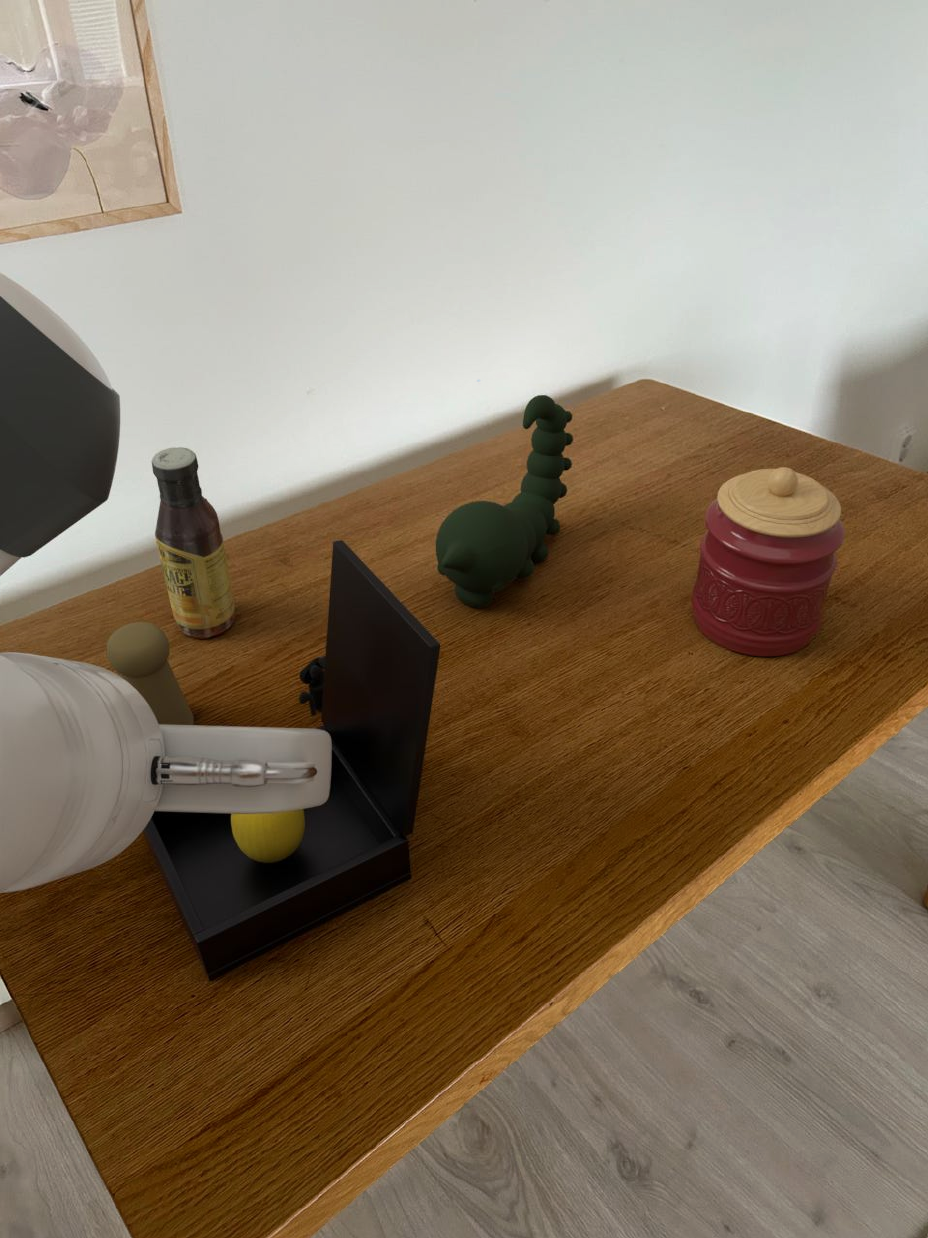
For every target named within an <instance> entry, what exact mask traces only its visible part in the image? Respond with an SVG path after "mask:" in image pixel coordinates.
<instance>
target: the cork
mask: <svg viewBox="0 0 928 1238" xmlns="http://www.w3.org/2000/svg"><path fill="white" fill-rule="evenodd" d="M170 652H171V651H170V641H169V637H168V636H167V635H166V633H165V632H164V630H163V629H162V628H161V627H159V626H158V625H156V624H154V623H152V622H148V621H136V622H130V623H127V624H125V625H121V627H119V628H117V629H116V630H115V631H114V632H113V633H111V634H110V637H109V639H108V641H107V643H106V657H107V658H106V659H107V660H108V662H109V664H110V666H111V667H112V669H113V670H114V671H115V672H116V673H118V676H120V677H121V678H123V679H124V680H126V681H127V682H128V683H129V684H131V685H132V686H133V687H134V688H135V689H136V690H137V691H138V692H139V693H140V694H141V696H142V697H143V698H144V699H145V701H146V702H147V703H148V705H149V706H150V708H151V710H152V712H153V713H154V715H155V717H156V720H157V722H158V724H167V725H195V721H194V713H193V712H192V710H191V708H190V705H189V704H188V701H187V699H186V696H185V695H184V692H183V691H182V688H181V686H180V684H179V682H178V680H177V678H176V675H175V673H174V671H173V669H172V667H171V665H170V663H169V661H168V659H169V656H170Z"/></svg>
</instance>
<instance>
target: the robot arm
mask: <svg viewBox="0 0 928 1238" xmlns="http://www.w3.org/2000/svg"><path fill="white" fill-rule="evenodd" d="M120 397H121V396H120V395H119V393H118V392H117V391H116V389H114V388H113V387H112V384H111V382H110V379H109V377H108V375H107V374H106V372H105V369H104V368H103V367H102V365H101V363H100V361H99V360H98V358H97V357H96V356H95V354H94V353H93V352H92V350H91V349H90V347H89V346H88V345H87V343H85V342H84V341H83V339H82V338H81V337H80V335H79V334H77V332H76V331H75V330H74V329H73V328H72V327H71V326H70V325H69V324H68V323H67V322H66V321H65V320H64V319H63V318H62V317H61V316H60V315H59V314H58V313H56V312H55V311H54V310H52V309H51V308H50V307H49V305H47V304H46V303H44V301H42V300H41V299H40V298H38V297H37V296H35V294H32V292H30V291H29V290H27V289H26V288H24V287H23V286H22V285H21V284H19V283H17V282H16V281H14V280H13V279H11V278H9V277H8V276H7V275H5V274H3V273H2V272H0V577H1V576H3V575H4V574H5V573H6V572H7V571H8V570H9V569H11V567H13V566H14V565H15V564H17V562H18V561H20V560H21V559H22V558H24V559H25V558H27V557H30V556H32V555H34V554H35V553H37V552H38V551H39V550H40V549H42V548H43V547H45V546H47V545H48V544H49V543H50V542H52V541H53V540H54V539H55V538H57V537H59V536H60V535H61V534H62V533H64V532H65V531H67V530H68V529H69V528H71V527H72V526H74V525H75V524H77V523H78V522H79V521H81V520H82V519H83V518H85V517H86V516H88V515H89V514H90V513H92V512H93V511H94V510H96V509H97V508H99V507H100V506H101V505H103V504H104V503H105V502H107V501H108V500H109V497H110V494H111V489H112V486H113V481H114V476H115V472H116V467H117V461H118V454H119V449H120V448H119V447H120V436H121V399H120ZM331 766H332V743H331V737H330V735H329V733H328V732H326V731H324V730H320V729H315V728H310V727H309V728H308V727H306V728H305V727H273V726H269V727H268V726H236V725H234V726H231V725H204V724H203V725H202V724H201V725H197V724H193V725H167V724H158V722H157V720H156V717H155V715H154V713H153V712H152V710H151V708H150V706H149V705H148V703H147V702H146V701H145V699H144V698H143V697H142V696H141V694H140V693H139V692H138V691H137V690H136V689H135V688H134V687H133V686H132V685H131V684H129V683H128V682H127V681H126V680H124V679H123V678H121V677H120V676H119V674H117V673H115V672H113V671H111V670H109V669H107V668H104V667H102V666H99V665H96V664H93V663H89V662H84V661H78V660H72V659H65V658H58V657H53V656H46V655H40V654H35V653H26V652H17V651H16V652H15V651H6V652H5V651H3V652H2V651H1V652H0V894H3V893H13V892H19V891H25V890H28V889H31V888H32V889H33V888H36V887H39V886H42V885H45V884H47V883H51V882H54V881H56V880H59V879H63V878H66V877H70V876H72V875H75V874H78V873H83V872H84V871H88V870H90V869H94V868H96V867H98V866H101V865H103V864H105V863H107V862H108V861H111V860H112V859H114V858H115V857H117V856H118V855H120V854H121V853H122V852H124V851H125V850H126V849H127V848H128V847H129V846H131V844H132V843H134V841H135V840H136V839H138V838H139V836H140V835H141V834H142V833H143V830H144V828H145V827H146V825H147V824H148V822H149V820H150V819H151V817H152V815H153V813H154V811H166V812H197V813H228V814H263V813H278V812H287V811H294V810H300V809H305V808H311V807H316V806H320V805H322V804H324V803H325V802H326V801H327V799H328V797H329V792H330V782H331Z"/></svg>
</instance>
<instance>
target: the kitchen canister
mask: <svg viewBox="0 0 928 1238" xmlns="http://www.w3.org/2000/svg"><path fill="white" fill-rule="evenodd" d="M841 515H842V506H841V503H840V501H839V500H838V498H837V497H836V495H835V494H834V493H832V491H830V490H829V489H828V488H827V487H825V486H823V484H821V483H820V482H819V481H817V480H815V478H814V479H813V478H812V477H810V476H808V475H805V474H803V473H800V472H797V471H795V470H794V469H792V468H789V467H785V466H781V467H777V468H761V469H756V470H752V471H749V472H746V473H742V474H739V475H736V476H734V477H732V478H730V479H728V480H726V481H725V482H724V483H723V484H722V485H721V487H719V490H718V492H717V497H716V498H715V499H714V500H713V501H712V502H711V503H710V504H709V505H708V507H707V508H706V511H705V514H704V523H705V526H706V529H707V530H706V531H705V532H704V533H703V535H702V537H701V539H700V546H699V548H700V549H699V550H700V556H699V561H698V568H697V574H696V580H695V583H694V586H693V588H692V595H691V608H692V617H693V620H694V623H695V624H696V626H697V628H698V629H699V630H700V631H701V632H702V634H704V635H705V636H706V637H707V638H708V639H710V640H711V641H713V642H714V643H716V644H718V646H721V647H724V649H725V648H726V649H727V650H729V651H733V652H736V653H739V654H744V655H748V656H754V657H755V656H756V657H780V656H784V655H789V654H792V653H795V652H798V651H799V650H802V649H803V648H805V647H806V646H807V645H809V643H811V642H812V640H813V639H814V637H815V636H816V633H817V632H818V631H819V629H820V627H821V625H822V620H823V619H824V618H823V617H824V614H825V613H824V611H825V608H824V606H825V603H826V598H827V596H828V592H829V588H830V585H831V580H832V577H833V575H834V573H835V572H836V569H837V567H838V558H837V553H836V552H837V551H838V550H839V549H840V548H841V546H842V545H843V542H844V540H845V536H846V533H845V532H846V531H845V526H844V524H843V522H842V519H840V518H841Z"/></svg>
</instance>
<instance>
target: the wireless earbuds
mask: <svg viewBox="0 0 928 1238" xmlns="http://www.w3.org/2000/svg"><path fill="white" fill-rule="evenodd" d="M324 670H325V655H323V656H321V657H314V658H313V659H312V660H311V661H310V662H309V663H308V664H307V665H306V666H304V668H302V669H301V671H300V672H299V680H300V682H301V683H303V684H305V685H308V691H309V692H307V691H301V692H300V693H299V697H298V700H299V701H298V702H299V704H300V705H305V704H307V703H309V710H310V715H311V717H316V716H317V711H322V699H323V684H324Z"/></svg>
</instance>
